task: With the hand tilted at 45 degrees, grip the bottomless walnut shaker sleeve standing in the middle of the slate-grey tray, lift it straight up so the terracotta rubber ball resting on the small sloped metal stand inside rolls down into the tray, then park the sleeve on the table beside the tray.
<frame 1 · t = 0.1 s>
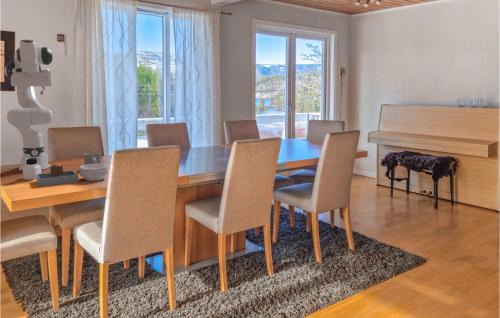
hand: (32, 94, 238), 48 cm above the table, tool pointing down, fingers open, 8 cm apart
ball: (58, 166, 234), point 9 cm above the table, touching sleeve, tray
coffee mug: (93, 170, 269), on the table
tray: (57, 182, 235), on the table
paper bowls: (94, 179, 242), on the table
medicine bottle: (32, 179, 244), on the table
sleeve: (57, 181, 235), resting on tray, touching ball
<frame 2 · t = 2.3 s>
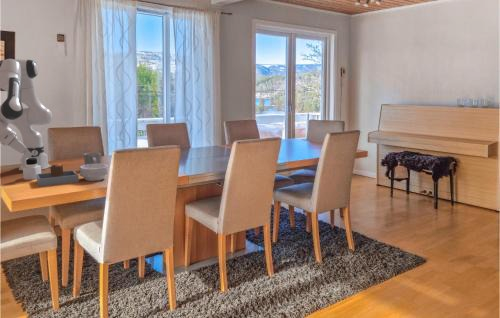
hand: (30, 154, 226), 17 cm above the table, tool tilted 45°, fingers open, 8 cm apart
nothing on the table moved.
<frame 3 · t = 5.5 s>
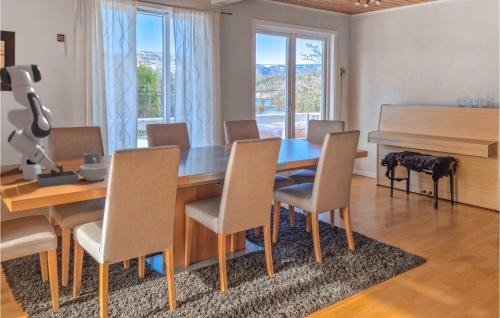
hand: (58, 170, 234), 7 cm above the table, tool tilted 45°, fingers closed on sleeve, 6 cm apart
sleeve: (57, 181, 235), resting on tray, touching ball, gripper
everything else where it was.
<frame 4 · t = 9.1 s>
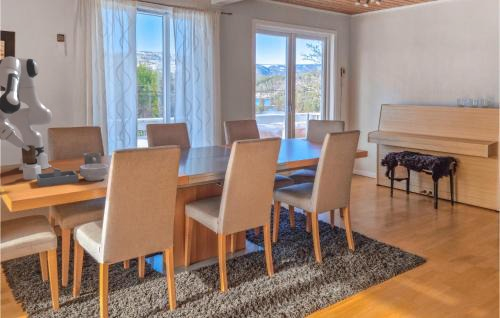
hand: (28, 148, 225), 20 cm above the table, tool tilted 45°, fingers closed on sleeve, 6 cm apart
ball: (67, 177, 238), point 2 cm above the table, tilted 172°, touching tray
sleeve: (29, 162, 226), point 13 cm above the table, touching gripper
everything else where it was.
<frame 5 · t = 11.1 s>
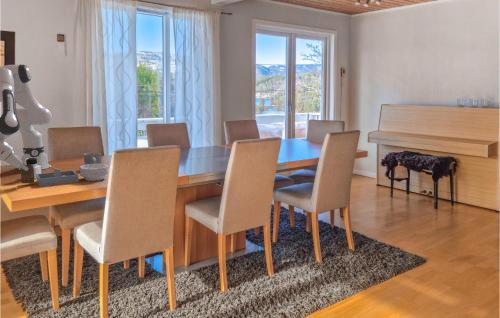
hand: (27, 168, 226), 9 cm above the table, tool tilted 45°, fingers closed on sleeve, 6 cm apart
ball: (63, 178, 237), point 2 cm above the table, tilted 97°, touching tray
sleeve: (27, 182, 227), point 2 cm above the table, touching gripper
everything else where it was.
when the fingers open (8 cm above the table, at t = 12.0 s): sleeve stays where it is, on the table.
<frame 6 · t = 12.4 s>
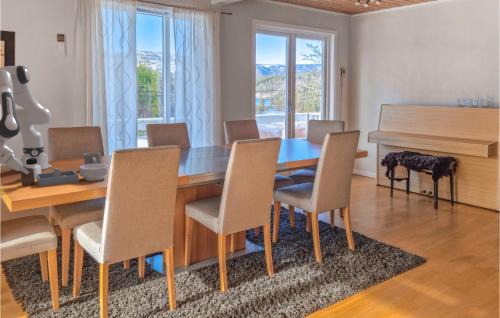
hand: (27, 171, 226), 8 cm above the table, tool tilted 45°, fingers open, 8 cm apart
ball: (64, 178, 237), point 2 cm above the table, tilted 109°, touching tray
sleeve: (28, 185, 228), on the table
everything else where it was.
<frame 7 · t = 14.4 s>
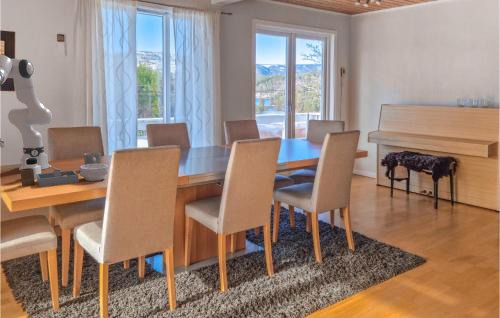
hand: (3, 145, 221), 22 cm above the table, tool tilted 45°, fingers open, 8 cm apart
ball: (65, 177, 237), point 2 cm above the table, tilted 128°, touching tray
everything else where it was.
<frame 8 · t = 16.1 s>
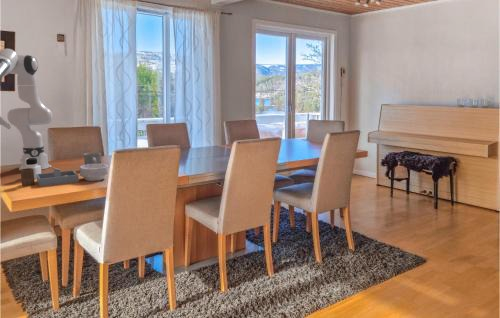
hand: (9, 127, 223), 31 cm above the table, tool tilted 45°, fingers open, 8 cm apart
ball: (66, 177, 237), point 2 cm above the table, tilted 145°, touching tray
everything else where it was.
at the end: ball inside the target area on the tray (4.5 cm from its centre), point 1.9 cm above the tray's base; sleeve inside the target area (0.8 cm from its centre), on the table; sleeve tilted 0° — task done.
